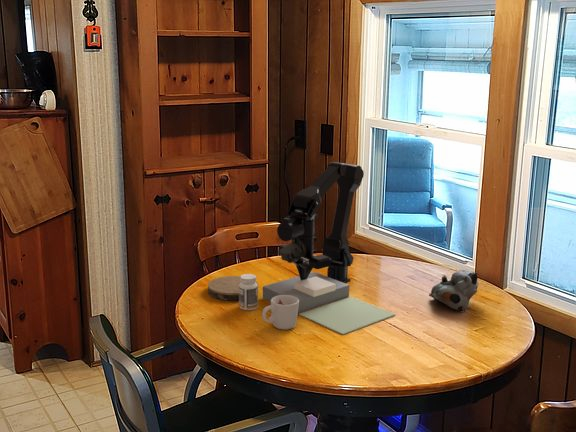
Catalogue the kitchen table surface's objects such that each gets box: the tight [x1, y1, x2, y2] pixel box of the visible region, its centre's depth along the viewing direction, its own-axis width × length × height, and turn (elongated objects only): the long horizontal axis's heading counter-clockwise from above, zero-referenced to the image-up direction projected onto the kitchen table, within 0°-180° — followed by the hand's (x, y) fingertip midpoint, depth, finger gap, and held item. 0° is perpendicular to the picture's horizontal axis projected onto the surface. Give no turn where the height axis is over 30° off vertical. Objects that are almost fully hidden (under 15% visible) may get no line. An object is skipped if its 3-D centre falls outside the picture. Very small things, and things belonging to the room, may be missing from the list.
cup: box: [261, 295, 299, 331], centre depth 194 cm, size 11×8×8 cm
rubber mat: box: [299, 296, 396, 336], centre depth 205 cm, size 22×18×1 cm
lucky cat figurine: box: [428, 269, 479, 313], centre depth 212 cm, size 15×12×14 cm
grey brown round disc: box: [207, 275, 259, 303], centre depth 221 cm, size 16×16×3 cm
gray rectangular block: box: [262, 271, 350, 314], centre depth 217 cm, size 22×16×4 cm
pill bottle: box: [238, 273, 259, 311], centre depth 208 cm, size 6×6×10 cm
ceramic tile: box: [294, 276, 336, 297], centre depth 213 cm, size 9×9×2 cm
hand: (303, 281), depth 217 cm, fingers closed
